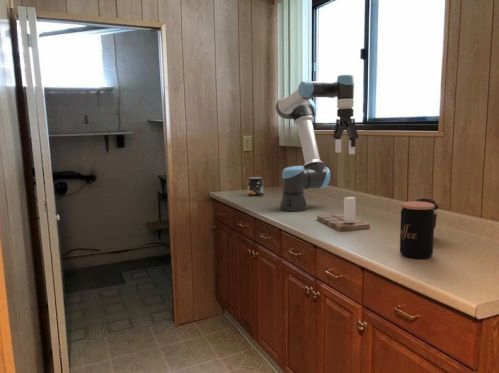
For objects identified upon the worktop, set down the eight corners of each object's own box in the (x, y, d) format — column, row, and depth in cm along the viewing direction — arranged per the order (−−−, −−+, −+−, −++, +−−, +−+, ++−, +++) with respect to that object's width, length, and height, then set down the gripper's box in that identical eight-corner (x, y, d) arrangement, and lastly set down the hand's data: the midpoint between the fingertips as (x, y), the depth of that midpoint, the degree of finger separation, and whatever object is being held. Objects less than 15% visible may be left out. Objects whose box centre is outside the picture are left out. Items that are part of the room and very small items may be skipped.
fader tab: (343, 221, 184) (344, 197, 183) (351, 221, 185) (352, 196, 184) (347, 223, 182) (347, 198, 180) (355, 222, 183) (355, 198, 181)
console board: (317, 219, 200) (317, 215, 200) (343, 217, 204) (343, 213, 203) (340, 231, 177) (340, 226, 177) (369, 228, 181) (369, 223, 180)
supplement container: (244, 195, 275) (244, 178, 273) (256, 193, 282) (255, 176, 280) (255, 197, 267) (255, 179, 266) (266, 195, 274) (266, 177, 273)
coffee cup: (440, 240, 160) (441, 202, 158) (413, 239, 162) (414, 202, 160) (434, 233, 170) (435, 197, 168) (408, 233, 172) (409, 197, 170)
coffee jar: (394, 251, 148) (395, 201, 145) (423, 249, 149) (424, 200, 146) (408, 260, 138) (409, 207, 135) (438, 259, 138) (441, 206, 136)
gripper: (366, 106, 184) (365, 154, 187) (340, 109, 208) (339, 151, 211) (351, 107, 182) (350, 155, 185) (326, 109, 206) (326, 152, 209)
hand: (344, 153), depth 198 cm, fingers open, 13 cm apart
